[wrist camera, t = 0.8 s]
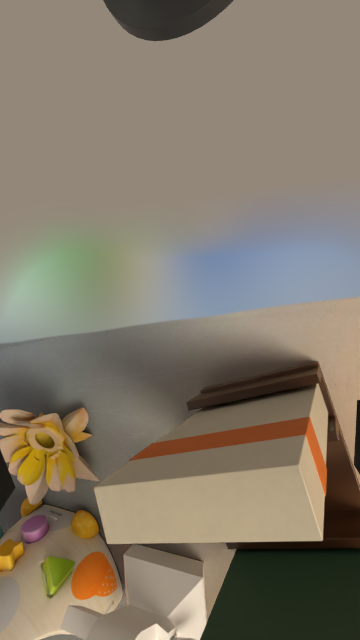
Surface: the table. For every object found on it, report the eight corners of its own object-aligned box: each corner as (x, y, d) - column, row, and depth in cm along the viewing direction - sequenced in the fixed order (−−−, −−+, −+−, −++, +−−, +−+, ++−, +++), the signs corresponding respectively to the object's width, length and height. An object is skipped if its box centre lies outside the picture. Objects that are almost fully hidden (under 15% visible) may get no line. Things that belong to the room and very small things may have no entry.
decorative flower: (23, 503, 45) (-52, 527, 36) (22, 419, 49) (-46, 423, 40) (111, 492, 40) (49, 517, 31) (103, 399, 43) (44, 398, 35)
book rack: (204, 388, 35) (138, 426, 23) (318, 361, 30) (309, 392, 18) (253, 559, 33) (209, 697, 21) (385, 560, 28) (423, 741, 16)
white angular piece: (241, 639, 34) (188, 827, 21) (129, 599, 40) (38, 728, 27) (235, 558, 34) (179, 698, 22) (125, 530, 40) (31, 628, 28)
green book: (244, 528, 32) (173, 702, 18) (365, 524, 28) (401, 753, 13) (252, 555, 32) (186, 754, 18) (375, 555, 27) (423, 824, 13)
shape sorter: (121, 515, 40) (-19, 650, 24) (124, 600, 40) (-13, 790, 24) (13, 486, 49) (-145, 572, 33) (16, 556, 49) (-140, 676, 33)
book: (207, 403, 34) (91, 486, 17) (317, 379, 29) (299, 462, 13) (216, 432, 33) (106, 545, 17) (329, 413, 29) (324, 542, 13)
